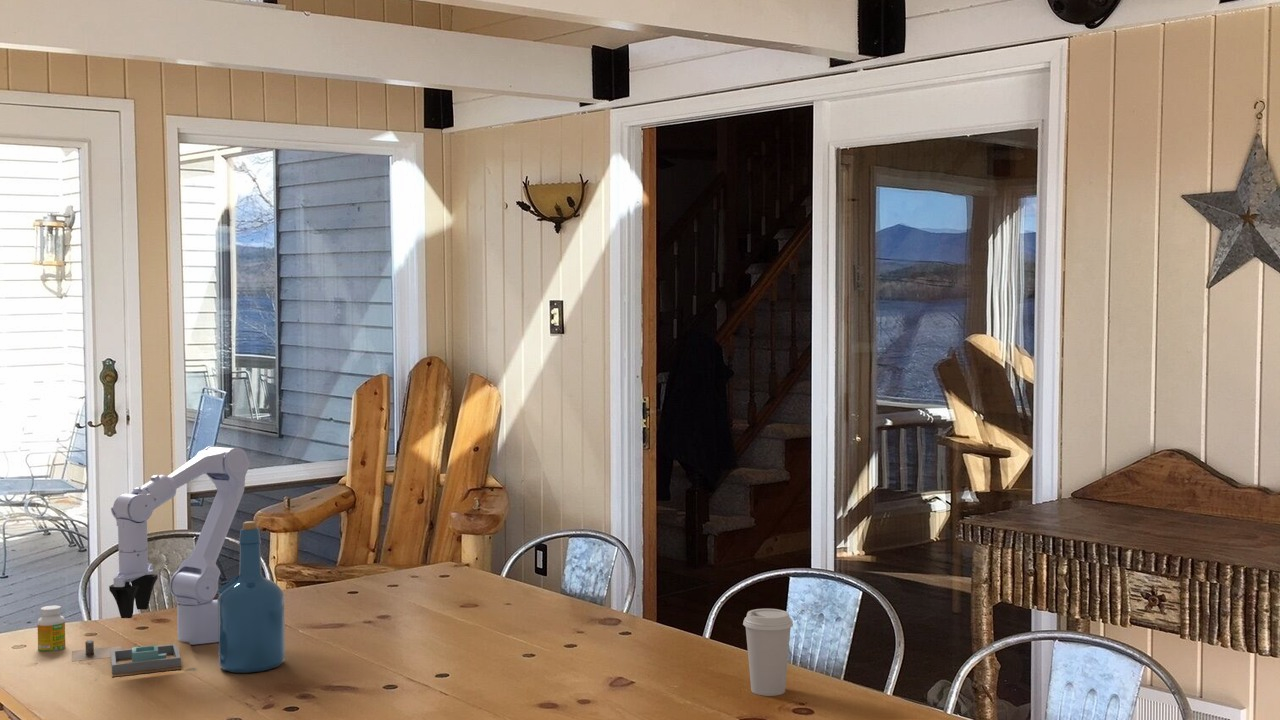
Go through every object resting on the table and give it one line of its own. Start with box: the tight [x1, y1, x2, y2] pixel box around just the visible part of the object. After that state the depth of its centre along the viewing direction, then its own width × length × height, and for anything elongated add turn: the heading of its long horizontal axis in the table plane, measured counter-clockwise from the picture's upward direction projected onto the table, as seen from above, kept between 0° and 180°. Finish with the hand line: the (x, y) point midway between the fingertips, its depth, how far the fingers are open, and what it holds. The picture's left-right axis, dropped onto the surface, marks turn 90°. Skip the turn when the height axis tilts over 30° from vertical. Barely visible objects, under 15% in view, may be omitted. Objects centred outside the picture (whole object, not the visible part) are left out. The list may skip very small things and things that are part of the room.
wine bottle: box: [217, 520, 286, 674], centre depth 257 cm, size 14×13×30 cm
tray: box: [110, 643, 182, 678], centre depth 258 cm, size 13×12×2 cm
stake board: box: [71, 639, 124, 663], centre depth 265 cm, size 10×9×4 cm
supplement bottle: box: [36, 605, 66, 653], centre depth 269 cm, size 5×5×10 cm
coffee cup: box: [742, 608, 794, 697], centre depth 238 cm, size 10×10×15 cm
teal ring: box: [131, 644, 167, 662], centre depth 258 cm, size 5×7×3 cm
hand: (134, 613), depth 264 cm, fingers open, 7 cm apart
